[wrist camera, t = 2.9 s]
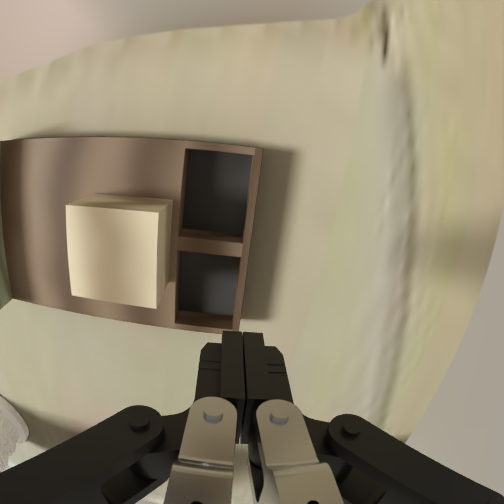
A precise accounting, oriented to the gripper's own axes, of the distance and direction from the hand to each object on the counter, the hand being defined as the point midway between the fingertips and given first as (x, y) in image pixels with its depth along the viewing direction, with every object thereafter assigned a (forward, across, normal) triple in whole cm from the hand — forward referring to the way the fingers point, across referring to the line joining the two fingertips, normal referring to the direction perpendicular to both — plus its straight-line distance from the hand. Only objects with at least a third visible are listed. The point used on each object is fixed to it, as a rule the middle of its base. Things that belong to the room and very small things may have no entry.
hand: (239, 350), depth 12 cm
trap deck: (+14, +10, 0) cm, 17 cm away
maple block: (+11, +8, 0) cm, 13 cm away
